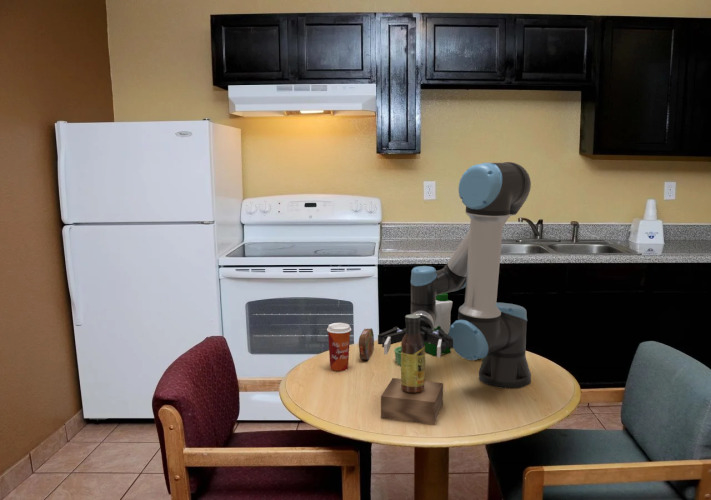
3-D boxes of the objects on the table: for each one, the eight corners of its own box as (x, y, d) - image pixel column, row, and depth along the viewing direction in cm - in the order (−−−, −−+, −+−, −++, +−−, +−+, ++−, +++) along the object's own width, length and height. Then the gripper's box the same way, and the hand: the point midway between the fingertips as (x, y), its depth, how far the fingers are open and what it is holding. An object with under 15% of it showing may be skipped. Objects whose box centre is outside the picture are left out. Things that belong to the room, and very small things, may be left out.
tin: (367, 363, 195) (366, 338, 194) (357, 362, 196) (357, 338, 194) (374, 348, 210) (374, 325, 208) (366, 348, 210) (365, 325, 209)
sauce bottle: (422, 395, 154) (422, 320, 151) (398, 392, 156) (398, 319, 152) (426, 385, 160) (426, 313, 157) (403, 383, 162) (403, 312, 159)
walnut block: (442, 403, 163) (443, 383, 162) (434, 424, 151) (434, 402, 150) (392, 398, 167) (392, 377, 166) (380, 418, 155) (380, 396, 154)
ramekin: (418, 368, 190) (418, 355, 189) (391, 366, 193) (391, 352, 192) (424, 359, 198) (424, 346, 197) (398, 356, 201) (397, 344, 200)
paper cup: (333, 373, 186) (333, 330, 183) (323, 366, 192) (323, 324, 190) (355, 369, 189) (355, 327, 187) (345, 362, 196) (345, 321, 194)
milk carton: (454, 352, 204) (455, 295, 200) (432, 357, 200) (432, 299, 196) (439, 345, 211) (440, 290, 208) (418, 349, 207) (418, 293, 204)
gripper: (463, 341, 172) (460, 367, 151) (377, 337, 177) (364, 361, 157) (463, 316, 171) (461, 339, 150) (377, 312, 176) (363, 334, 155)
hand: (411, 350), depth 153 cm, fingers open, 13 cm apart
